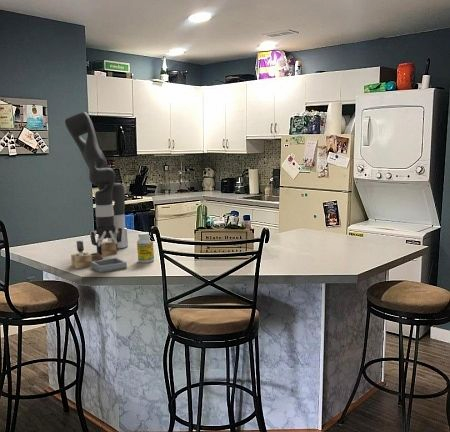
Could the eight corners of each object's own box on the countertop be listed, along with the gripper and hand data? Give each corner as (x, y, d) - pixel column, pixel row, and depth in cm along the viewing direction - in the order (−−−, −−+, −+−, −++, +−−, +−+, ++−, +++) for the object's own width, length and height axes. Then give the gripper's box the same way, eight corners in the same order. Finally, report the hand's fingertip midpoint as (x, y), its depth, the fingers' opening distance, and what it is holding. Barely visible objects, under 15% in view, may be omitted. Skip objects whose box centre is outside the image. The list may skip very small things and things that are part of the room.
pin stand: (99, 258, 235) (98, 252, 234) (102, 260, 231) (102, 254, 230) (88, 260, 232) (88, 254, 232) (92, 262, 228) (91, 256, 228)
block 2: (111, 252, 221) (111, 241, 220) (116, 254, 216) (116, 243, 215) (98, 254, 217) (97, 243, 217) (103, 256, 212) (102, 245, 212)
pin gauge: (84, 264, 225) (81, 240, 223) (86, 265, 223) (83, 241, 221) (78, 265, 224) (75, 241, 222) (79, 266, 221) (77, 242, 220)
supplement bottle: (153, 258, 232) (151, 231, 230) (154, 262, 225) (153, 233, 223) (137, 259, 231) (136, 232, 229) (138, 263, 224) (136, 235, 222)
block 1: (87, 262, 228) (86, 252, 227) (92, 265, 222) (91, 254, 221) (71, 265, 224) (70, 254, 223) (76, 268, 218) (75, 257, 217)
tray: (116, 263, 225) (116, 257, 225) (126, 268, 216) (126, 262, 215) (91, 267, 219) (91, 261, 219) (100, 272, 210) (100, 266, 209)
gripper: (117, 212, 221) (119, 249, 223) (85, 215, 213) (88, 254, 216) (124, 214, 215) (126, 252, 217) (91, 217, 207) (94, 257, 209)
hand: (107, 253), depth 216 cm, fingers closed on block 2, 6 cm apart
